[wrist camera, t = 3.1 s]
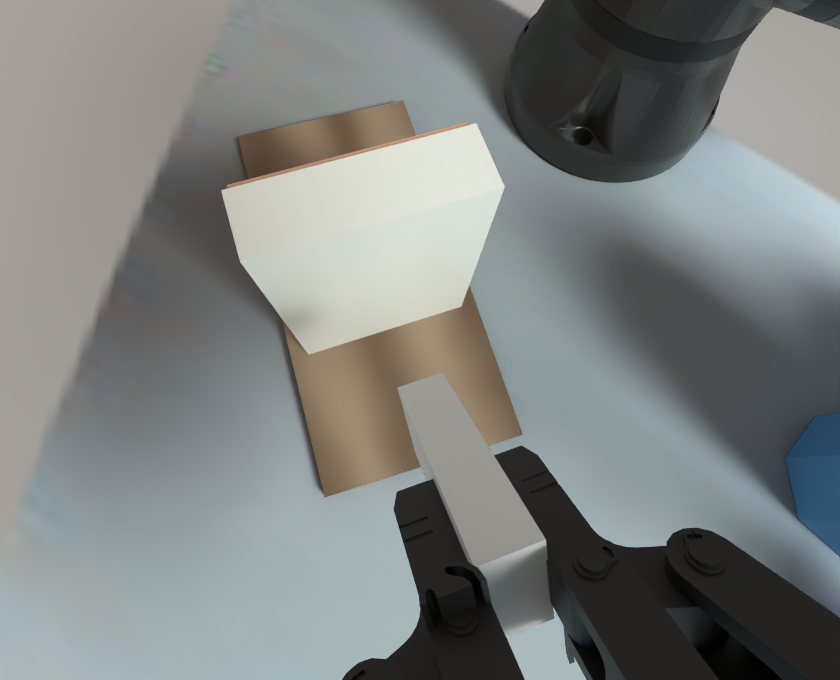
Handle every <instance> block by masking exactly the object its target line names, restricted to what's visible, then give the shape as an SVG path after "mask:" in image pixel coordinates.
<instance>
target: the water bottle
mask: <svg viewBox="0 0 840 680" xmlns="http://www.w3.org/2000/svg"><path fill="white" fill-rule="evenodd" d="M785 460H786V464H787V469H788V474H789V478H790V483H791V488H792V492H793V497H794V501H795V506H796V511H797V515H798V520H799V521H801V522H802V523H803V524H804V525H805V526H806V527H807V528H808V529H810V530H811V531H812V532H813V533H814V534H815V535H816V536H818V537H819V538H820V539H821V540H822V541H823V542H824V543H825V544H827V545H828V546H829V547H830V548H831V549H832V550H833V551H835V552H836V553H837V554H838V555H839V556H840V413H835V414H828V415H821V416H815V417H814V418H813V420H812V421H811V422H810V424H809V425H808V427H807V428H806V429H805V431H804V432H803V434H802V435H801V436H800V438H799V439H798V441H797V442H796V443H795V445H794V446H793V447H792V449H791V450H790V452H789V453H788V454H787V456H786V457H785Z"/></svg>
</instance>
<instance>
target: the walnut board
mask: <svg viewBox="0 0 840 680" xmlns="http://www.w3.org/2000/svg"><path fill="white" fill-rule="evenodd" d="M413 136H416V135H415V132H414V130H413V127H412V124H411V121H410V118H409V116H408V113H407V110H406V107H405V105H404V102H403V101H398V102H393V103H389V104H384V105H380V106H375V107H371V108H366V109H361V110H357V111H352V112H348V113H343V114H339V115H334V116H329V117H325V118H320V119H316V120H311V121H307V122H302V123H297V124H293V125H288V126H284V127H279V128H274V129H270V130H265V131H261V132H256V133H252V134H247V135H242V136H238V139H239V143H240V147H241V152H242V156H243V160H244V164H245V168H246V172H247V177H248V179H252V178H256V177H260V176H263V175H267V174H271V173H275V172H279V171H283V170H286V169H290V168H294V167H298V166H302V165H306V164H309V163H313V162H317V161H321V160H325V159H329V158H332V157H336V156H340V155H344V154H348V153H351V152H355V151H359V150H363V149H367V148H371V147H374V146H378V145H382V144H386V143H390V142H394V141H397V140H401V139H405V138H409V137H413ZM282 322H283V326H284V331H285V335H286V339H287V343H288V347H289V351H290V356H291V360H292V364H293V368H294V372H295V376H296V380H297V385H298V389H299V393H300V397H301V401H302V405H303V410H304V414H305V418H306V422H307V426H308V430H309V435H310V439H311V443H312V447H313V451H314V455H315V460H316V464H317V468H318V472H319V476H320V480H321V485H322V489H323V493H324V497H327V496H330V495H333V494H337V493H340V492H343V491H346V490H349V489H352V488H355V487H359V486H362V485H365V484H368V483H371V482H374V481H378V480H381V479H384V478H387V477H390V476H393V475H397V474H400V473H403V472H406V471H409V470H412V469H415V468H419V467H421V466H420V463H419V461H418V458H417V456H416V453H415V450H414V446H413V443H412V439H411V435H410V432H409V428H408V424H407V421H406V417H405V414H404V410H403V406H402V403H401V399H400V395H399V392H398V388H397V387H400V386H403V385H406V384H409V383H412V382H416V381H419V380H422V379H425V378H428V377H431V376H434V375H437V374H440V373H443V374H444V375H445V377H446V379H447V380H448V382H449V383H450V385H451V387H452V388H453V390H454V392H455V393H456V395H457V396H458V398H459V400H460V401H461V403H462V405H463V406H464V408H465V409H466V411H467V413H468V414H469V416H470V417H471V419H472V421H473V422H474V424H475V426H476V427H477V429H478V430H479V432H480V434H481V435H482V437H483V439H484V440H485V442H486V443H487V445H491V444H494V443H498V442H501V441H504V440H507V439H510V438H513V437H517V436H520V435H522V432H521V429H520V426H519V423H518V421H517V418H516V415H515V412H514V409H513V407H512V404H511V401H510V398H509V395H508V393H507V390H506V387H505V384H504V381H503V379H502V376H501V373H500V370H499V367H498V365H497V362H496V359H495V356H494V353H493V351H492V348H491V345H490V342H489V339H488V337H487V334H486V331H485V328H484V326H483V323H482V320H481V317H480V314H479V312H478V309H477V306H476V303H475V300H474V298H473V295H472V292H471V289H470V286H469V287H468V290H467V292H466V295H465V298H464V301H463V303H462V306H461V307H459V308H455V309H452V310H449V311H446V312H443V313H440V314H436V315H433V316H430V317H427V318H424V319H420V320H417V321H414V322H411V323H408V324H405V325H401V326H398V327H395V328H392V329H389V330H385V331H382V332H379V333H376V334H373V335H370V336H366V337H363V338H360V339H357V340H354V341H350V342H347V343H344V344H341V345H338V346H335V347H331V348H328V349H325V350H322V351H319V352H315V353H312V354H309V355H308V353H307V352H306V351H305V349H304V348H303V347H302V345H301V344H300V342H299V341H298V340H297V338H296V337H295V336H294V334H293V333H292V332H291V330H290V329H289V328H288V326H287V325H286V323H285V322H284V321H283V319H282Z"/></svg>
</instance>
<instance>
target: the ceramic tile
mask: <svg viewBox="0 0 840 680" xmlns="http://www.w3.org/2000/svg"><path fill="white" fill-rule="evenodd" d="M504 188H505V186H504V184H503V182H502V180H501V177H500V175H499V173H498V171H497V168H496V166H495V164H494V162H493V160H492V157H491V155H490V153H489V151H488V148H487V146H486V144H485V142H484V139H483V137H482V135H481V133H480V130H479V128H478V126H477V124H476V123H475V124H471V125H469V123H468V122H466V123H463V124H459V125H455V126H451V127H447V128H443V129H440V130H436V131H432V132H428V133H424V134H420V135H417V136H413V137H409V138H405V139H401V140H397V141H394V142H390V143H386V144H382V145H378V146H374V147H371V148H367V149H363V150H359V151H355V152H351V153H348V154H344V155H340V156H336V157H332V158H329V159H325V160H321V161H317V162H313V163H309V164H306V165H302V166H298V167H294V168H290V169H286V170H283V171H279V172H275V173H271V174H267V175H263V176H260V177H256V178H252V179H248V180H244V181H240V182H237V183H233V184H229V185H227V189H223V190H221V192H222V196H223V199H224V203H225V207H226V211H227V214H228V218H229V222H230V226H231V229H232V233H233V237H234V241H235V245H236V248H237V252H238V256H239V260H240V262H241V264H242V265H243V267H244V268H245V269H246V271H247V272H248V273H249V275H250V276H251V277H252V279H253V280H254V281H255V283H256V284H257V285H258V287H259V288H260V290H261V291H262V292H263V294H264V295H265V296H266V298H267V299H268V300H269V302H270V303H271V304H272V306H273V307H274V309H275V310H276V311H277V313H278V314H279V315H280V317H281V318H282V319H283V321H284V322H285V323H286V325H287V326H288V328H289V329H290V330H291V332H292V333H293V334H294V336H295V337H296V338H297V340H298V341H299V342H300V344H301V345H302V347H303V348H304V349H305V351H306V352H307V353H308V355H309V354H312V353H315V352H319V351H322V350H325V349H328V348H331V347H335V346H338V345H341V344H344V343H347V342H350V341H354V340H357V339H360V338H363V337H366V336H370V335H373V334H376V333H379V332H382V331H385V330H389V329H392V328H395V327H398V326H401V325H405V324H408V323H411V322H414V321H417V320H420V319H424V318H427V317H430V316H433V315H436V314H440V313H443V312H446V311H449V310H452V309H455V308H459V307H461V306H462V303H463V301H464V298H465V295H466V292H467V290H468V287H469V284H470V281H471V279H472V276H473V273H474V270H475V268H476V265H477V262H478V259H479V257H480V254H481V251H482V248H483V246H484V243H485V240H486V237H487V235H488V232H489V229H490V226H491V224H492V221H493V218H494V215H495V213H496V210H497V207H498V204H499V201H500V199H501V196H502V193H503V190H504Z"/></svg>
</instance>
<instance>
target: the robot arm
mask: <svg viewBox="0 0 840 680" xmlns="http://www.w3.org/2000/svg"><path fill="white" fill-rule="evenodd" d="M773 7H775V8H779V9H782V10H785V11H787V12H792V13H794V14H797V15H801V16H803V17H806V18H809V19H812V20H814V21H816V22H820V23H823V24H826V25H829V26H832V27H834V28H837V29H840V0H545V1H544V2H543V4H542V6H541V7H540V9H539V10H538V12H537V13H536V14H535V15H534V16H533V17H532V18H531V19H530V20H529V21H528V23H527V24H526V26H525V27H524V28H523V30H522V32H521V33H520V35H519V37H518V39H517V41H516V43H515V46H514V49H513V52H512V55H511V59H510V63H509V67H508V70H507V74H506V79H505V99H506V105H507V108H508V112H509V114H510V117H511V119H512V121H513V123H514V125H515V127H516V129H517V130H518V132H519V133H520V135H521V136H522V137H523V139H524V140H525V141H526V142H527V143H528V144H529V146H530V147H531V148H533V149H534V150H535V151H536V152H537V153H538V154H539V155H540V156H542V157H543V158H544V159H546V160H547V161H549V162H550V163H552V164H553V165H555V166H557V167H559V168H561V169H563V170H565V171H567V172H569V173H572V174H574V175H577V176H580V177H583V178H587V179H591V180H596V181H603V182H632V181H638V180H643V179H646V178H650V177H653V176H655V175H658V174H660V173H662V172H664V171H666V170H668V169H669V168H671V167H672V166H674V165H675V164H676V163H678V162H679V161H680V160H681V159H682V158H683V157H684V156H685V155H686V154H687V153H688V151H689V150H690V149H691V148H692V147H693V146H694V145H695V143H696V142H697V141H698V140H699V139H700V138H701V136H702V135H703V134H704V133H705V131H706V130H707V128H708V126H709V125H710V123H711V121H712V119H713V116H714V115H715V111H716V108H717V105H718V103H719V98H720V94H721V91H722V89H723V87H724V85H725V83H726V80H727V78H728V75H729V73H730V71H731V69H732V66H733V64H734V62H735V59H736V57H737V54H738V52H739V50H740V47H741V46H742V44H743V43H744V42H745V40H746V39H747V38H748V36H749V35H750V34H751V33H752V31H753V30H754V29H755V28H756V26H757V25H758V23H759V22H760V21H761V20H762V19H763V17H764V16H765V15H766V14H767V13H768V12H769V11H770V10H771V9H772V8H773ZM397 388H398V392H399V395H400V399H401V403H402V406H403V410H404V414H405V417H406V421H407V424H408V428H409V432H410V435H411V439H412V443H413V446H414V450H415V453H416V456H417V458H418V461H419V463H420V466H421V468H422V471H423V473H424V476H425V478H426V482H423V483H420V484H417V485H414V486H412V487H409V488H406V489H403V490H401V491H398V492H397V495H396V500H395V506H394V512H395V515H396V519H397V522H398V526H399V529H400V533H401V536H402V539H403V543H404V546H405V550H406V553H407V556H408V560H409V563H410V567H411V570H412V574H413V577H414V580H415V584H416V587H417V591H418V594H419V601H420V608H421V609H420V617H419V620H418V624H417V627H416V628H415V630H414V632H413V633H412V635H411V637H410V638H409V639H408V640H407V641H406V642H405V643H404V644H403V645H402V646H401V647H400V648H399V649H397V650H396V651H395V652H394V653H393V654H392V655H390V656H389V657H388V658H387V659H386V660H385V659H375V658H371V659H368V660H365V661H363V662H360V663H358V664H357V665H355V666H354V667H353V668H352V669H351V670H349V671H348V672H347V673H346V675H345V676H344V678H343V679H342V680H524V677H523V675H522V673H521V670H520V668H519V666H518V663H517V661H516V659H515V657H514V654H513V652H512V650H511V647H510V645H509V643H508V640H507V638H508V637H511V636H513V635H515V634H518V633H520V632H522V631H525V630H527V629H530V628H532V627H534V626H537V625H539V624H541V623H544V622H546V621H549V620H551V619H553V618H554V612H553V607H554V609H555V611H556V612H557V614H558V616H559V618H560V620H561V621H562V623H563V625H564V634H565V646H566V654H567V657H568V660H569V663H570V664H571V663H573V662H574V657H575V659H576V661H577V663H578V664H579V666H580V668H581V670H582V672H583V674H584V676H585V677H586V679H587V680H840V618H839V617H838V616H837V615H835V614H834V613H832V612H831V611H829V610H828V609H826V608H825V607H824V606H822V605H821V604H819V603H818V602H816V601H815V600H813V599H812V598H811V597H809V596H808V595H806V594H805V593H803V592H802V591H800V590H799V589H798V588H796V587H795V586H793V585H792V584H790V583H789V582H787V581H786V580H785V579H783V578H782V577H780V576H779V575H777V574H776V573H774V572H773V571H772V570H770V569H769V568H767V567H766V566H764V565H763V564H761V563H760V562H759V561H757V560H756V559H754V558H753V557H751V556H750V555H748V554H747V553H746V552H744V551H743V550H741V549H740V548H738V547H737V546H735V545H734V544H733V543H731V542H730V541H728V540H727V539H725V538H723V537H722V536H720V535H718V534H716V533H714V532H712V531H708V530H704V529H700V528H686V529H682V530H679V531H677V532H675V533H673V534H672V535H671V537H670V538H669V539H668V541H667V545H666V546H657V547H639V548H634V547H624V546H620V545H616V544H613V543H612V542H610V541H608V540H605V539H604V538H602V537H601V536H599V535H598V534H597V533H596V532H595V531H594V530H593V529H592V528H591V527H590V525H589V524H588V522H587V521H586V520H585V518H584V517H583V516H582V514H581V513H580V512H579V510H578V509H577V508H576V506H575V505H574V504H573V502H572V501H571V500H570V498H569V497H568V495H567V494H566V493H565V491H564V490H563V489H562V487H561V486H560V485H558V483H557V481H556V479H555V478H554V477H553V475H552V474H551V473H550V472H549V470H548V469H547V467H546V466H545V464H544V463H543V462H542V460H541V459H540V458H539V456H538V455H536V454H535V453H533V452H531V451H530V450H528V449H526V448H525V447H523V446H519V447H516V448H513V449H511V450H508V451H505V452H502V453H500V454H497V455H493V453H492V451H491V450H490V448H489V447H488V445H487V443H486V442H485V440H484V439H483V437H482V435H481V434H480V432H479V430H478V429H477V427H476V426H475V424H474V422H473V421H472V419H471V417H470V416H469V414H468V413H467V411H466V409H465V408H464V406H463V405H462V403H461V401H460V400H459V398H458V396H457V395H456V393H455V392H454V390H453V388H452V387H451V385H450V383H449V382H448V380H447V379H446V377H445V375H444V374H443V373H440V374H437V375H434V376H431V377H428V378H425V379H422V380H419V381H416V382H412V383H409V384H406V385H403V386H400V387H397Z"/></svg>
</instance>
